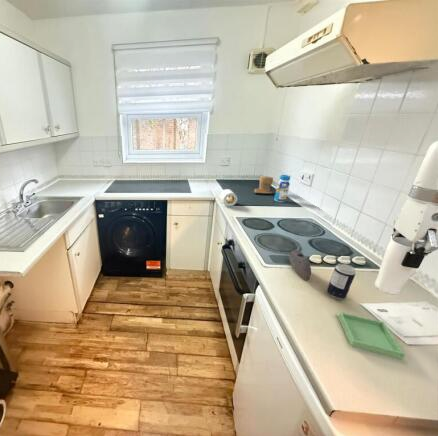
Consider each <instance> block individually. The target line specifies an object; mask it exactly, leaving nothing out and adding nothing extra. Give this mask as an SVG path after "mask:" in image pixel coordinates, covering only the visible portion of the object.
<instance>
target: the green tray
mask: <svg viewBox="0 0 438 436" xmlns="http://www.w3.org/2000/svg"><path fill="white" fill-rule="evenodd" d="M337 318H338V320H339V323H340V325H341V327H342V329H343V331H344V333H345V336H346V338H347V341H348V342H349V345H350V346H351V347H354V348H357V349H361V350H363V351H364V350H365V351H368V352H372V353H376V354H379V355H380V354H381V355H383V356H387V357H391V358H395V359H398V360H403V359H404V357H405V356H406V353H405V352H404V350H403V349H402V348H401V346H400V344H399V343H398V341H397V339H395V338H396V337H394V335H393V333H391V331H390V330H389V328H388V326H387V324H386V323H385V322H384V321H381V320H376V319H372V318H367V317H364V316H359V315H354V314H350V313H346V312H341V311H339V313H338V316H337Z"/></svg>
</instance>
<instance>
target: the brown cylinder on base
mask: <svg viewBox="0 0 438 436" xmlns="http://www.w3.org/2000/svg"><path fill="white" fill-rule="evenodd" d="M258 182H259V183H258V184H259V186H258V188H254V194H259V195H260V194H262V195H271V194H273V191H272V190H271V187H272V185H273V183H274V177H273V176H266V175H260V176H259V180H258Z"/></svg>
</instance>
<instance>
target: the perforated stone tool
mask: <svg viewBox="0 0 438 436" xmlns="http://www.w3.org/2000/svg"><path fill="white" fill-rule="evenodd" d="M288 261H289V264H290V265H291V268H292V269H293V270H294V271H295V273H297V275H298V276H299V277H300V278H302V279H303V280H305V281H308V280H310V278H311V277H312V267H311V265H310V263H309V260H308V259H307V257H306V256H305V254H304V253H302V251H300V250H297V249H294V250H291V252H290V253H289V256H288Z"/></svg>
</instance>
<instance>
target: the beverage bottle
mask: <svg viewBox="0 0 438 436" xmlns="http://www.w3.org/2000/svg"><path fill="white" fill-rule="evenodd" d="M290 179H291V175H289V174H281V175H280V176H279V181H278V182H277V185H276V189H275V194H274V198H273V200H274V201H275V202H277V203H286V201H287V196H288V193H289V189H290V187H289V186H290V185H291V184H290Z"/></svg>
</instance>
